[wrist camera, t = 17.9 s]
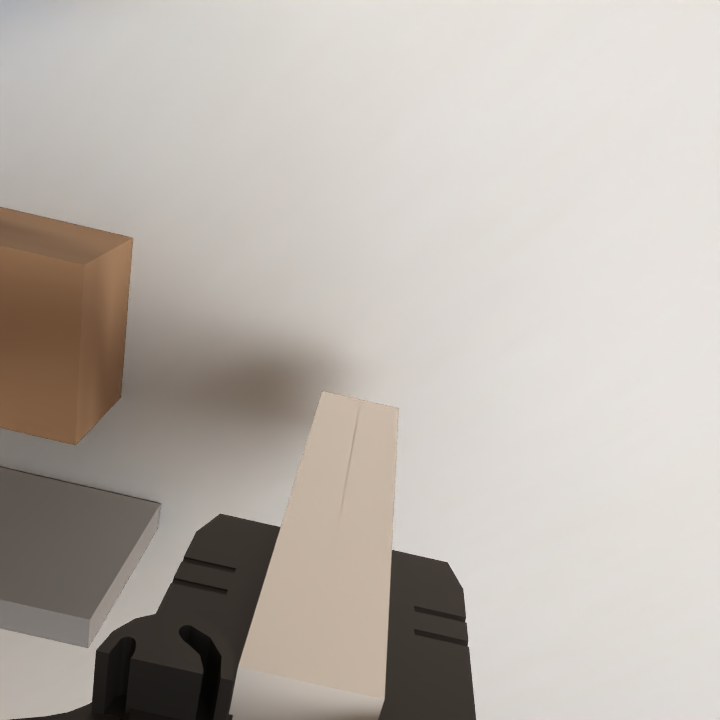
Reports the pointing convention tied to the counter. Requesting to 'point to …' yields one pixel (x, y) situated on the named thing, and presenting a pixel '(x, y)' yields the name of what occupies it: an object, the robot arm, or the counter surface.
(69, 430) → the walnut block
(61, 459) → the counter surface
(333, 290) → the counter surface
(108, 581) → the tray
